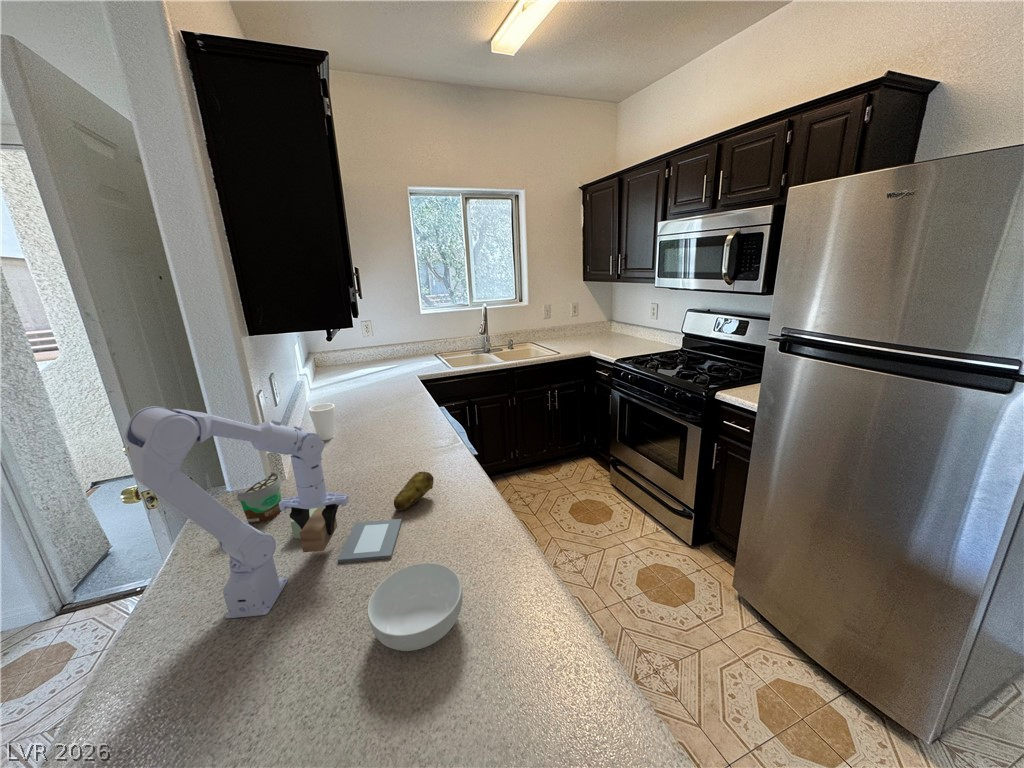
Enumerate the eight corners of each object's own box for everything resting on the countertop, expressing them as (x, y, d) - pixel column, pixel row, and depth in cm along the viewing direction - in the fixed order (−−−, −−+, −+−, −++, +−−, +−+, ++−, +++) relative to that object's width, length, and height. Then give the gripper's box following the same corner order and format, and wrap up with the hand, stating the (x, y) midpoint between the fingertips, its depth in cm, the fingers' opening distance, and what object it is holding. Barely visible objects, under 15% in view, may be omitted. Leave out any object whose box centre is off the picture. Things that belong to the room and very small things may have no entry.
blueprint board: (391, 558, 92) (390, 555, 92) (338, 562, 91) (337, 559, 91) (402, 521, 105) (401, 518, 105) (355, 525, 104) (355, 522, 104)
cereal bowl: (426, 577, 86) (423, 550, 84) (482, 617, 75) (480, 587, 74) (354, 632, 73) (348, 601, 71) (409, 688, 63) (404, 654, 61)
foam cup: (314, 435, 164) (309, 405, 160) (338, 431, 168) (334, 401, 164) (314, 443, 156) (308, 412, 152) (339, 439, 159) (334, 408, 156)
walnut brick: (323, 550, 89) (320, 531, 88) (303, 552, 89) (299, 533, 87) (337, 526, 98) (334, 508, 96) (318, 527, 97) (315, 509, 96)
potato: (387, 503, 114) (384, 478, 111) (429, 488, 121) (427, 464, 119) (398, 517, 107) (394, 491, 105) (441, 500, 114) (439, 475, 112)
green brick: (312, 537, 100) (309, 520, 99) (294, 538, 100) (290, 521, 99) (325, 516, 109) (322, 500, 108) (308, 517, 109) (305, 501, 107)
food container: (263, 529, 104) (255, 496, 101) (244, 527, 105) (235, 494, 102) (297, 503, 115) (290, 472, 113) (279, 501, 117) (272, 470, 114)
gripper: (348, 470, 94) (356, 520, 97) (285, 474, 92) (295, 525, 96) (339, 486, 87) (347, 539, 90) (270, 490, 86) (281, 544, 89)
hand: (320, 533), depth 93 cm, fingers closed on walnut brick, 4 cm apart
